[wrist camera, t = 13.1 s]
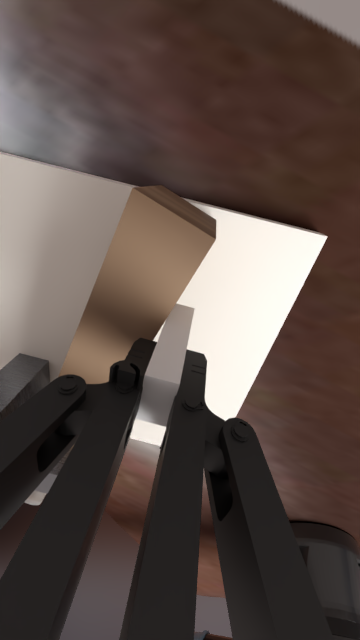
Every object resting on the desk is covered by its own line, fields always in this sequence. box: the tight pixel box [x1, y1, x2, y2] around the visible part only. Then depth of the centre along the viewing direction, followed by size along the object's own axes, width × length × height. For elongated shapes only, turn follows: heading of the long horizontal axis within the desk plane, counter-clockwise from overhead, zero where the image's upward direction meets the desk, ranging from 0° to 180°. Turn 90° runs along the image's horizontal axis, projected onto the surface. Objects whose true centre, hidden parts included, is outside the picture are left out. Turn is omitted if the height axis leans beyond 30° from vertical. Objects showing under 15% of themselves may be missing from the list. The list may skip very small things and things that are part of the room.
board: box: [0, 151, 327, 446], centre depth 23 cm, size 26×25×2 cm
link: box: [25, 185, 216, 505], centre depth 18 cm, size 27×5×8 cm, turn 151°
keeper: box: [0, 353, 71, 494], centre depth 22 cm, size 3×10×11 cm, turn 78°
